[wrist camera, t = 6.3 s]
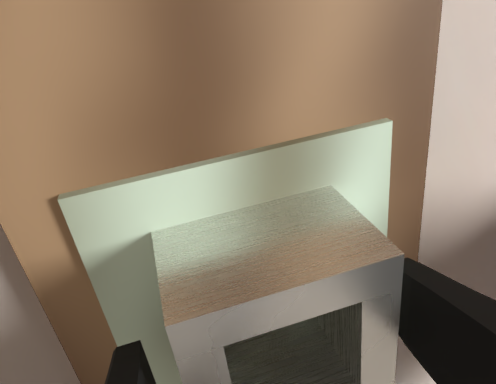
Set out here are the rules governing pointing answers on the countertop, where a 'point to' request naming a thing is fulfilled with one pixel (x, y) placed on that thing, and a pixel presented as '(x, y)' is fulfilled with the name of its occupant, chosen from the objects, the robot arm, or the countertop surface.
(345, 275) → the white square frame
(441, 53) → the countertop surface
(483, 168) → the countertop surface
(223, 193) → the board
